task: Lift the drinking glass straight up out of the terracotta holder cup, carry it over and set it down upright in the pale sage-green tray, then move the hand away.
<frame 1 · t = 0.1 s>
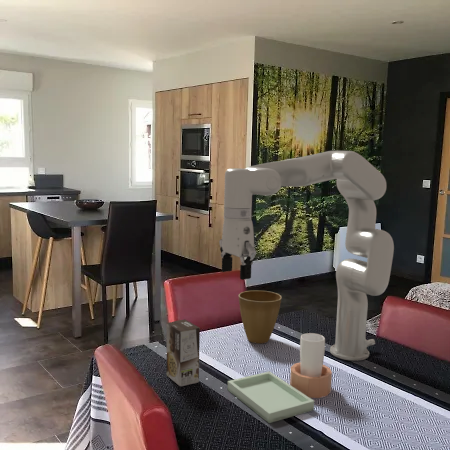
hand: (235, 275, 143), 31 cm above the table, tool pointing down, fingers open, 9 cm apart
holder cup: (310, 388, 144), on the table
tray: (269, 399, 137), on the table
coffee box: (182, 379, 149), on the table
plant pot: (258, 340, 181), on the table
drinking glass: (310, 389, 144), resting in holder cup
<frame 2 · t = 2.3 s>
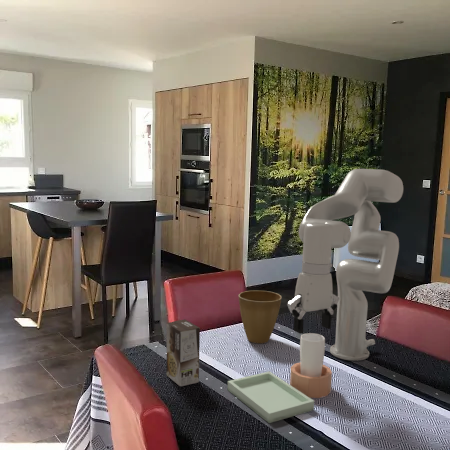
hand: (312, 329, 141), 17 cm above the table, tool pointing down, fingers open, 9 cm apart
nothing on the table moved.
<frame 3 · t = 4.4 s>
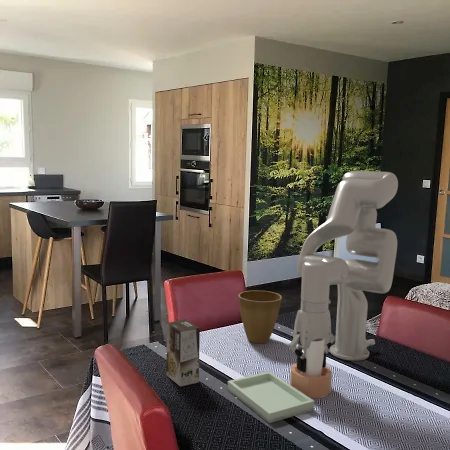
hand: (311, 367, 143), 6 cm above the table, tool pointing down, fingers closed on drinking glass, 6 cm apart
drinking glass: (310, 389, 144), resting in holder cup, touching gripper
everything else where it was.
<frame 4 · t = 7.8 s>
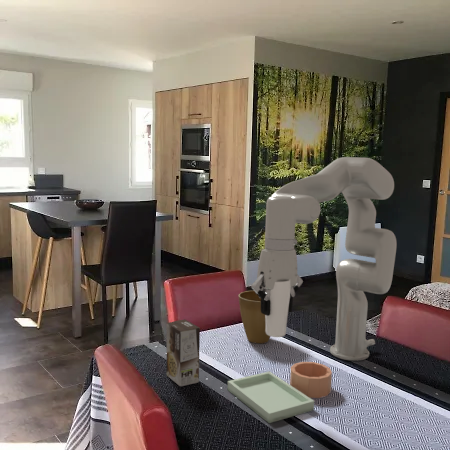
hand: (276, 311, 134), 24 cm above the table, tool pointing down, fingers closed on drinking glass, 6 cm apart
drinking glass: (275, 335, 135), point 18 cm above the table, touching gripper
everything else where it was.
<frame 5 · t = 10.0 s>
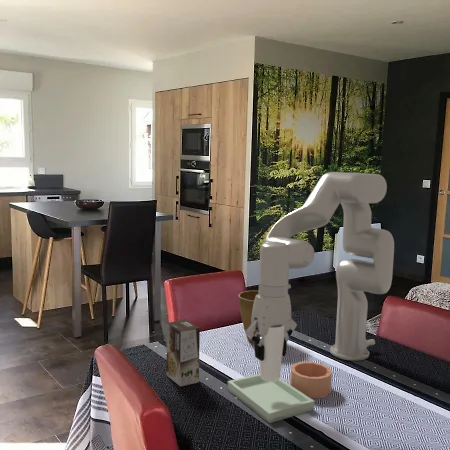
hand: (270, 355, 135), 12 cm above the table, tool pointing down, fingers closed on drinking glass, 6 cm apart
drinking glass: (269, 378, 136), point 6 cm above the table, touching gripper
everything else where it was.
when the fingers open (8 cm above the table, at t = 11.7 s): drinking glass drops 1 cm, resting on tray.
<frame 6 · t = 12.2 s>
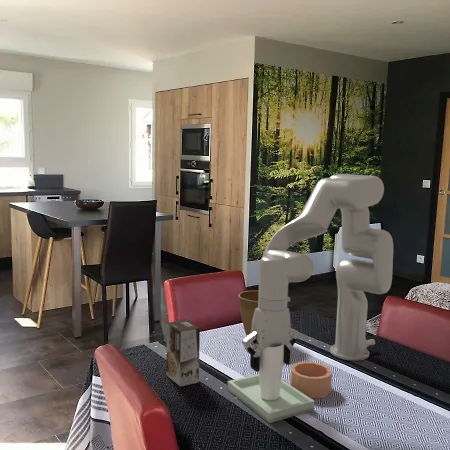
hand: (270, 366, 136), 9 cm above the table, tool pointing down, fingers open, 9 cm apart
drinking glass: (269, 397, 137), point 1 cm above the table, touching tray
everything else where it was.
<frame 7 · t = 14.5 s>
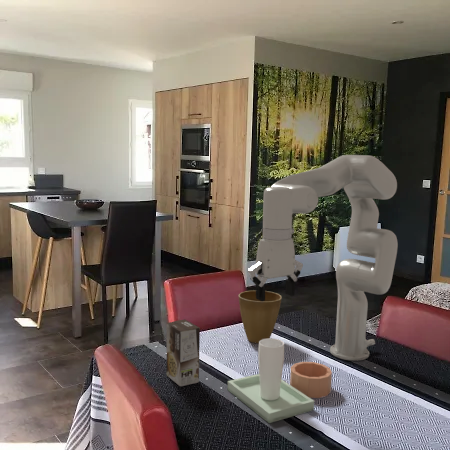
hand: (275, 297, 138), 27 cm above the table, tool pointing down, fingers open, 9 cm apart
nothing on the table moved.
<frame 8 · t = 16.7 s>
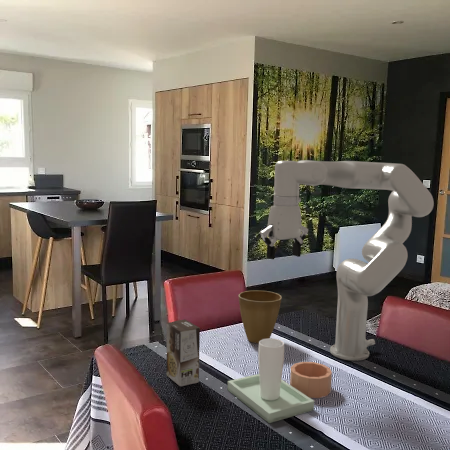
hand: (283, 257, 159), 33 cm above the table, tool pointing down, fingers open, 9 cm apart
nothing on the table moved.
at the end: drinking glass inside the target area on the tray (0.1 cm from its centre), point 0.6 cm above the tray's base; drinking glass tilted 0°; the gripper is holding nothing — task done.
